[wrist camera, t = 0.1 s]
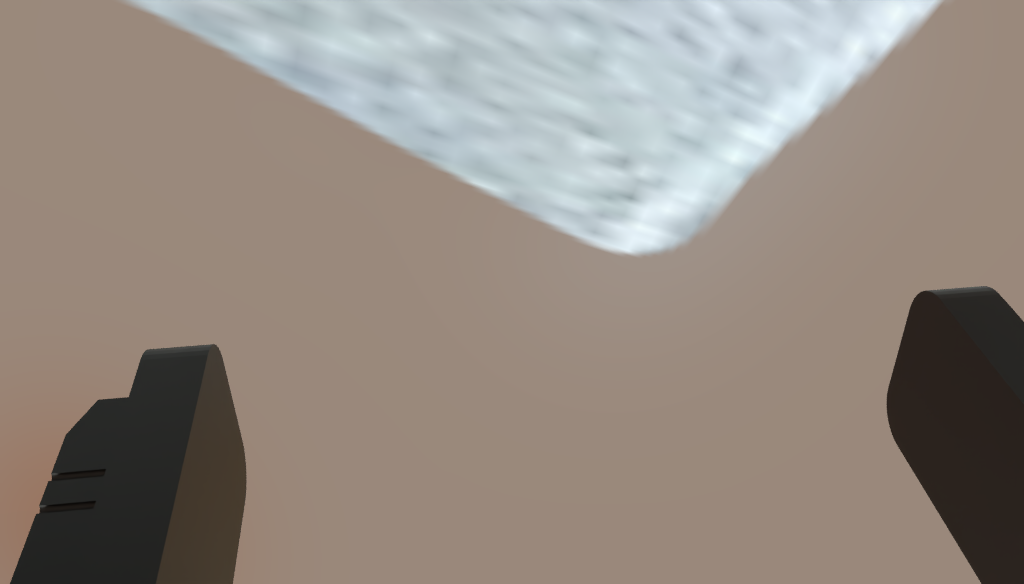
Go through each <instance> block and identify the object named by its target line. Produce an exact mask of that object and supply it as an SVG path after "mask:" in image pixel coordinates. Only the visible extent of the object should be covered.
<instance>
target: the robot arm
mask: <svg viewBox="0 0 1024 584" xmlns="http://www.w3.org/2000/svg"><path fill="white" fill-rule="evenodd" d="M887 415H888V421H889V425H890V429H891V432H892V435H893V437H894V440H895V442H896V444H897V445H898V447H899V449H900V450H901V452H902V453H903V455H904V457H905V459H906V460H907V462H908V463H909V465H910V467H911V468H912V470H913V472H914V473H915V475H916V477H917V478H918V480H919V482H920V483H921V485H922V486H923V488H924V490H925V491H926V493H927V495H928V496H929V498H930V500H931V501H932V503H933V505H934V506H935V508H936V510H937V511H938V513H939V514H940V516H941V518H942V519H943V521H944V523H945V524H946V526H947V528H948V529H949V531H950V532H951V534H952V536H953V537H954V539H955V541H956V542H957V544H958V546H959V547H960V549H961V551H962V552H963V554H964V555H965V557H966V559H967V560H968V562H969V564H970V565H971V567H972V569H973V570H974V572H975V574H976V575H977V577H978V578H979V580H980V582H981V584H1024V322H1023V321H1022V320H1021V318H1020V317H1019V316H1018V315H1017V314H1016V313H1015V311H1014V310H1013V309H1012V308H1011V307H1010V306H1009V305H1008V303H1007V302H1006V301H1005V300H1004V299H1003V298H1002V297H1001V296H1000V295H999V293H997V292H996V291H995V290H994V289H992V288H990V287H987V286H981V287H967V288H955V289H942V290H929V291H923V292H920V293H919V294H918V295H917V296H916V297H915V298H914V300H913V302H912V304H911V307H910V310H909V315H908V318H907V321H906V325H905V329H904V333H903V337H902V340H901V344H900V347H899V351H898V355H897V358H896V362H895V366H894V369H893V373H892V377H891V380H890V384H889V388H888V393H887ZM51 474H52V481H48V484H47V487H46V489H45V492H44V495H43V497H42V500H41V502H40V505H39V506H40V513H39V514H36V516H35V518H34V521H33V524H32V526H31V529H30V532H29V535H28V537H27V540H26V543H25V545H24V548H23V550H22V553H21V556H20V558H19V561H18V564H17V567H16V569H15V572H14V575H13V577H12V580H11V582H10V584H233V578H234V571H235V565H236V558H237V551H238V544H239V538H240V532H241V525H242V518H243V512H244V505H245V497H246V462H245V453H244V446H243V442H242V438H241V433H240V429H239V425H238V421H237V416H236V413H235V408H234V404H233V400H232V396H231V391H230V387H229V384H228V379H227V375H226V371H225V366H224V363H223V358H222V355H221V353H220V350H219V348H218V347H217V346H216V345H215V344H212V345H199V346H186V347H174V348H161V349H149V350H146V351H145V352H144V353H143V355H142V357H141V360H140V363H139V366H138V370H137V373H136V376H135V379H134V383H133V385H132V389H131V392H130V395H129V397H127V398H116V399H103V400H98V401H97V402H96V403H95V404H94V405H93V406H92V407H91V408H90V409H89V410H88V412H87V413H86V414H85V415H84V416H83V417H82V418H81V419H80V420H79V421H78V422H77V423H76V424H75V426H74V427H73V428H72V429H71V430H70V431H69V432H68V433H67V434H66V436H65V439H64V441H63V444H62V447H61V450H60V452H59V455H58V457H57V460H56V463H55V465H54V468H53V471H52V473H51Z"/></svg>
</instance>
